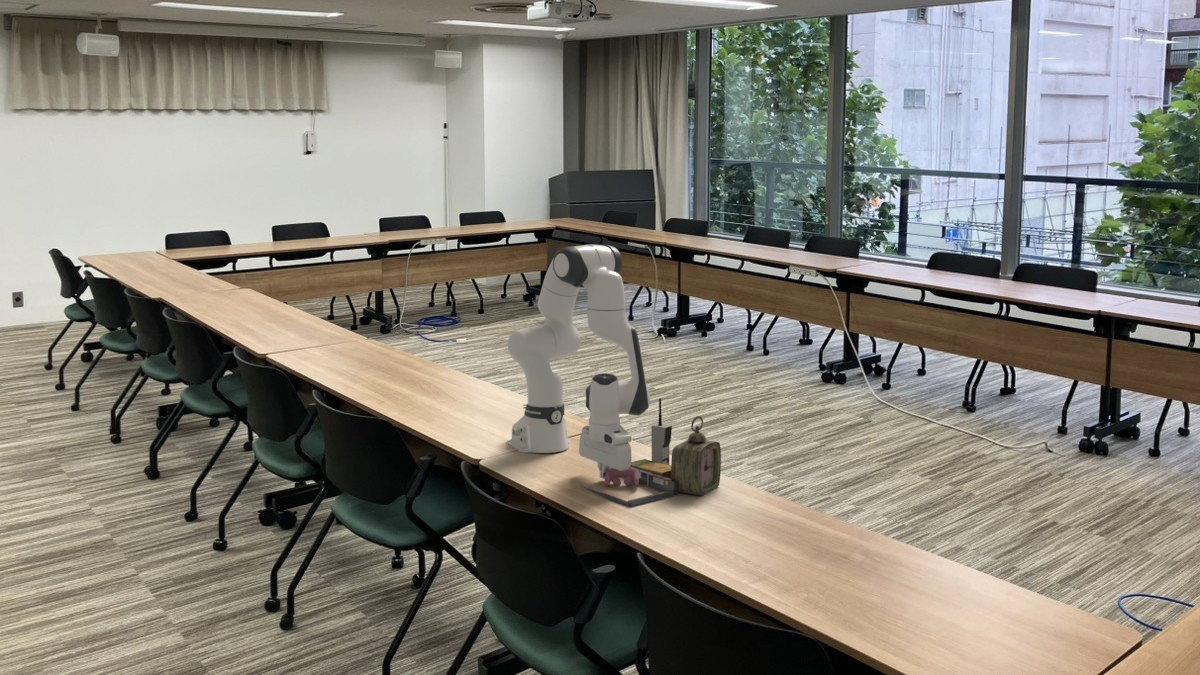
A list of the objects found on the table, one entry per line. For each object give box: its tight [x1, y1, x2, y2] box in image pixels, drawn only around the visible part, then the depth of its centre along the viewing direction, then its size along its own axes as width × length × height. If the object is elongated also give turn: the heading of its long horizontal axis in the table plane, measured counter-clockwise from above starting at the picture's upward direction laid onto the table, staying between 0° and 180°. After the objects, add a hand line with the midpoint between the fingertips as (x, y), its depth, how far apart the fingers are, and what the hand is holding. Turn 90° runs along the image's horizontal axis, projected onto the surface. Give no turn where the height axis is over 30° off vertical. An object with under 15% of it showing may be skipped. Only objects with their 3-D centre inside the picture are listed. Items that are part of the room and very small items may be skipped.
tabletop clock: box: [670, 415, 722, 497], centre depth 288 cm, size 14×9×25 cm, turn 149°
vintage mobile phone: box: [651, 398, 673, 465], centre depth 308 cm, size 4×5×25 cm
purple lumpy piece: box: [604, 467, 640, 487], centre depth 291 cm, size 10×5×7 cm
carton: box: [631, 458, 671, 479], centre depth 298 cm, size 8×16×4 cm, turn 40°
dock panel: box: [581, 466, 679, 508], centre depth 288 cm, size 24×17×4 cm
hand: (604, 478), depth 294 cm, fingers closed, pressing on purple lumpy piece
